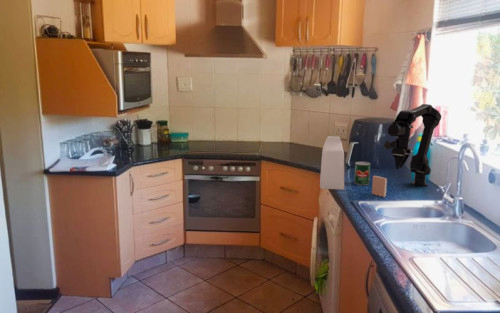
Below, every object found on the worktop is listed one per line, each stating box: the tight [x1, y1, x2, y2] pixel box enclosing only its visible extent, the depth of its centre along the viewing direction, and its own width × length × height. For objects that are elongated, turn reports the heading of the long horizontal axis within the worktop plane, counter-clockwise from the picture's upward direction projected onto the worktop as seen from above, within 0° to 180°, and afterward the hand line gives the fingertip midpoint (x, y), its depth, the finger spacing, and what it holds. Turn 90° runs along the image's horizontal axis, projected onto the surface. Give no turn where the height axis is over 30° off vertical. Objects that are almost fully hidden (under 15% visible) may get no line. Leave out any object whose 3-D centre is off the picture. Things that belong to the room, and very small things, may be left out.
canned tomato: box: [353, 161, 371, 186], centre depth 236 cm, size 8×8×11 cm
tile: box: [371, 175, 388, 198], centre depth 215 cm, size 2×7×9 cm, turn 36°
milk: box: [319, 136, 345, 190], centre depth 229 cm, size 12×12×26 cm
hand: (399, 168), depth 219 cm, fingers open, 9 cm apart
